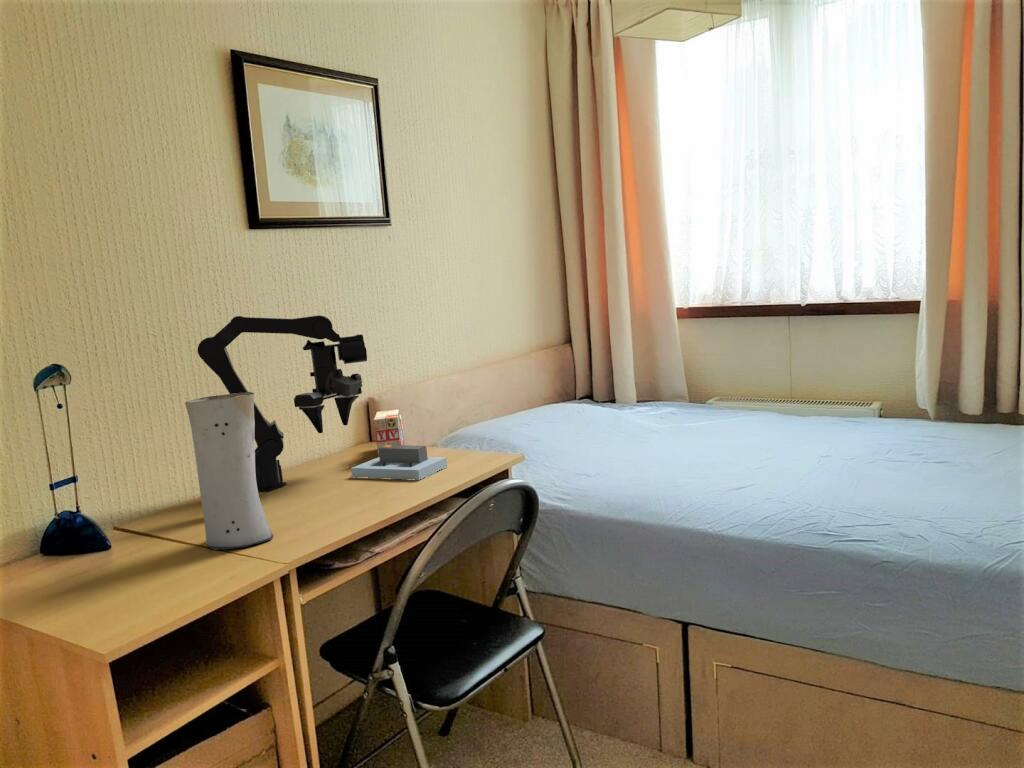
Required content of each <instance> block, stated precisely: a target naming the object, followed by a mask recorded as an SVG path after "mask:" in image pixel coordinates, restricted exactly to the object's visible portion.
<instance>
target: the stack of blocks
mask: <svg viewBox="0 0 1024 768" xmlns="http://www.w3.org/2000/svg"><path fill="white" fill-rule="evenodd" d="M402 420H403V419H402V414H400V409H398V408H397V409H391V410H382V411H376V413H375V416H374V418H373V427H374V435H375V442H376V448H377V458H378V457H379V450H378V448H381V447H383V446H386V445H406V439H405V431H404V425H403V421H402Z"/></svg>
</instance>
